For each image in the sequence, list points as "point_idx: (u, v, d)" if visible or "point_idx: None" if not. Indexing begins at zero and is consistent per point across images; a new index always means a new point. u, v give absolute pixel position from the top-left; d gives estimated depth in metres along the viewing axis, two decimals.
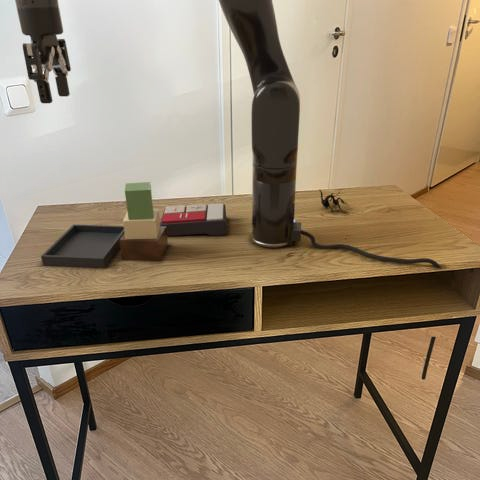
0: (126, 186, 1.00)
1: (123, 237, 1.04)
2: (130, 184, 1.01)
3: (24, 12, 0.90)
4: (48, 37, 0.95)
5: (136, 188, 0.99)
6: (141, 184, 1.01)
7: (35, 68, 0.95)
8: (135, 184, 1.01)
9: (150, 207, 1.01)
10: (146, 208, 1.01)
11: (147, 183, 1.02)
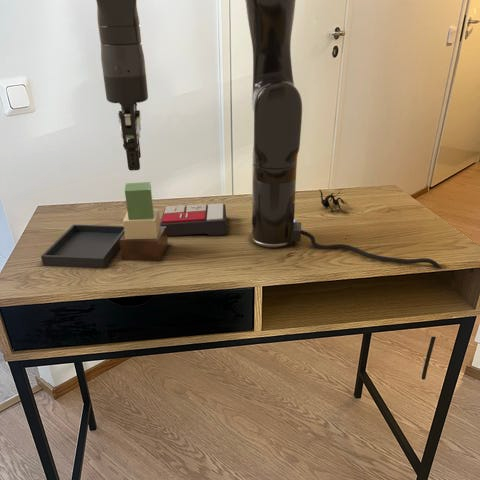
0: (126, 186, 1.00)
1: (123, 237, 1.04)
2: (130, 184, 1.01)
3: (118, 81, 0.87)
4: None
5: (136, 188, 0.99)
6: (141, 184, 1.01)
7: (125, 136, 0.91)
8: (135, 184, 1.01)
9: (150, 207, 1.01)
10: (146, 208, 1.01)
11: (147, 183, 1.02)
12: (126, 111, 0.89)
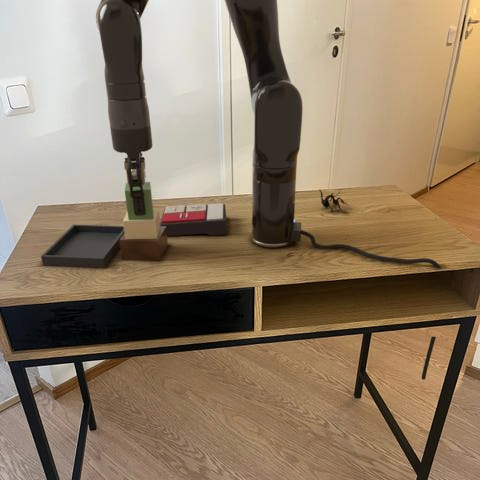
0: (126, 186, 1.00)
1: (123, 237, 1.04)
2: None
3: (124, 133, 0.91)
4: None
5: (136, 188, 0.99)
6: None
7: None
8: None
9: (150, 207, 1.01)
10: (146, 208, 1.01)
11: (147, 183, 1.02)
12: (132, 160, 0.94)
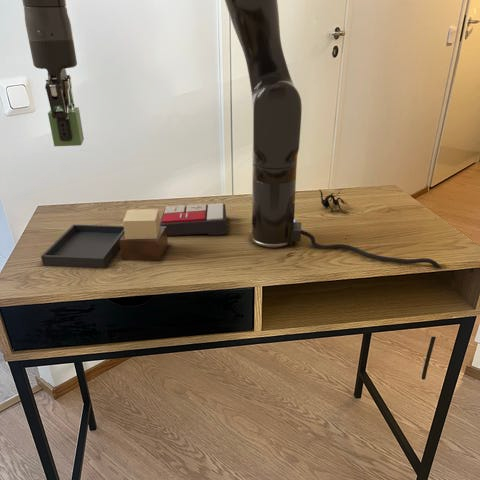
0: None
1: (123, 237, 1.04)
2: None
3: (42, 45, 0.85)
4: (62, 69, 0.91)
5: None
6: (68, 108, 0.95)
7: (54, 106, 0.91)
8: (61, 108, 0.95)
9: (77, 132, 0.94)
10: (72, 134, 0.95)
11: (75, 108, 0.96)
12: (52, 77, 0.88)
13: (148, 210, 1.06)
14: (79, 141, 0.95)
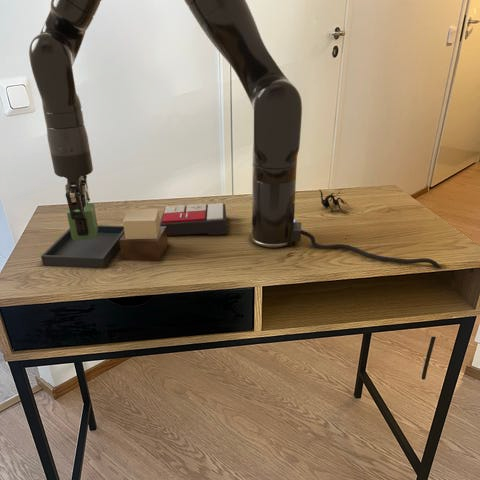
0: None
1: (123, 237, 1.04)
2: None
3: (62, 159, 0.96)
4: None
5: (78, 210, 1.04)
6: None
7: None
8: None
9: (92, 228, 1.05)
10: (88, 229, 1.05)
11: (90, 205, 1.06)
12: (71, 184, 0.98)
13: (148, 210, 1.06)
14: (94, 235, 1.06)
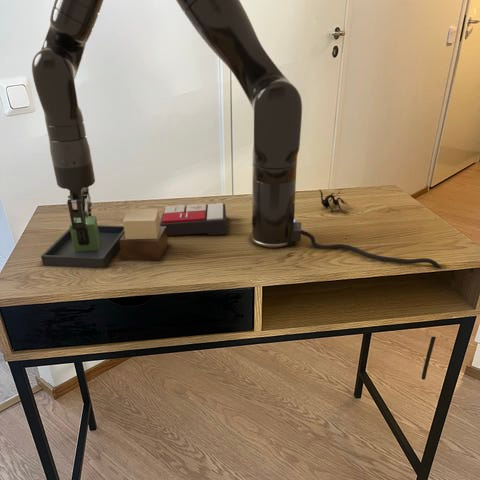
0: None
1: (123, 237, 1.04)
2: None
3: (65, 171, 0.97)
4: None
5: None
6: None
7: None
8: None
9: (95, 240, 1.06)
10: (91, 241, 1.06)
11: (93, 217, 1.08)
12: (74, 196, 1.00)
13: (148, 210, 1.06)
14: (97, 247, 1.07)
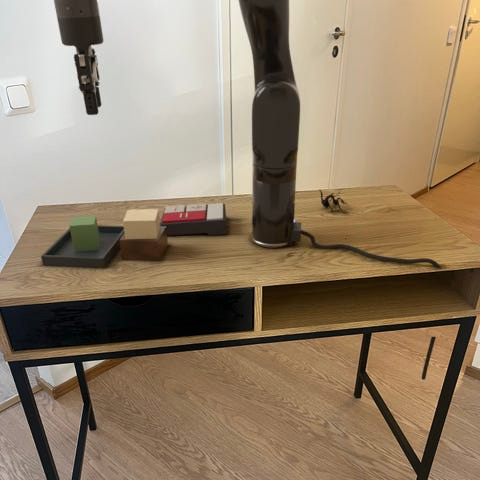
0: (72, 220, 1.06)
1: (123, 237, 1.04)
2: (76, 218, 1.07)
3: (71, 22, 0.87)
4: None
5: (80, 223, 1.05)
6: (86, 218, 1.07)
7: (81, 79, 0.92)
8: (81, 218, 1.07)
9: (95, 240, 1.06)
10: (91, 241, 1.06)
11: (93, 217, 1.08)
12: (81, 53, 0.90)
13: (148, 210, 1.06)
14: (97, 247, 1.07)
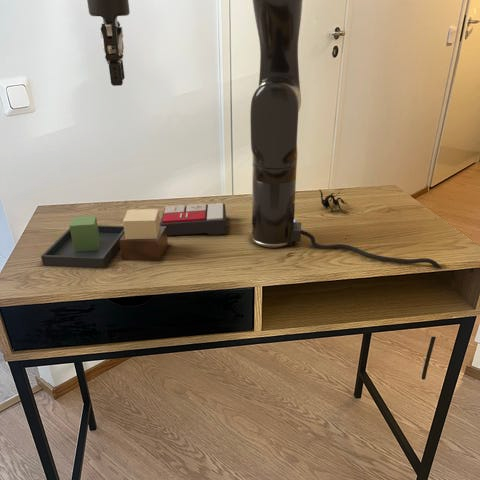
0: (72, 220, 1.06)
1: (123, 237, 1.04)
2: (76, 218, 1.07)
3: None
4: (116, 18, 0.94)
5: (80, 223, 1.05)
6: (86, 218, 1.07)
7: (107, 49, 0.94)
8: (81, 218, 1.07)
9: (95, 240, 1.06)
10: (91, 241, 1.06)
11: (93, 217, 1.08)
12: (108, 23, 0.92)
13: (148, 210, 1.06)
14: (97, 247, 1.07)
